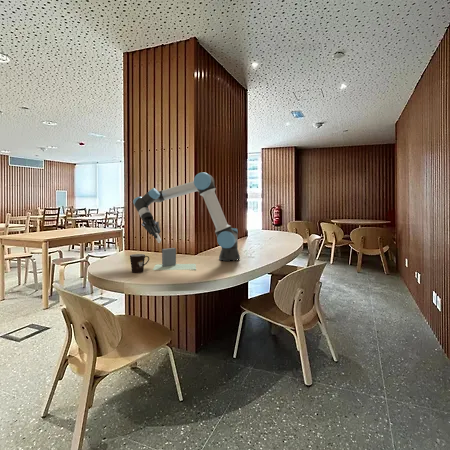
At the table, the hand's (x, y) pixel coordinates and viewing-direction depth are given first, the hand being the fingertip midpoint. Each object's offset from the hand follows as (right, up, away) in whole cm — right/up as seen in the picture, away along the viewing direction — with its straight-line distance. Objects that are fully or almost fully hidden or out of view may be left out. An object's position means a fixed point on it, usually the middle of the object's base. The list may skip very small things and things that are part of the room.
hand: (159, 241), depth 205 cm
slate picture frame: (+7, -15, -5) cm, 18 cm away
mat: (+11, -16, -9) cm, 22 cm away
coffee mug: (-7, -17, -21) cm, 28 cm away
